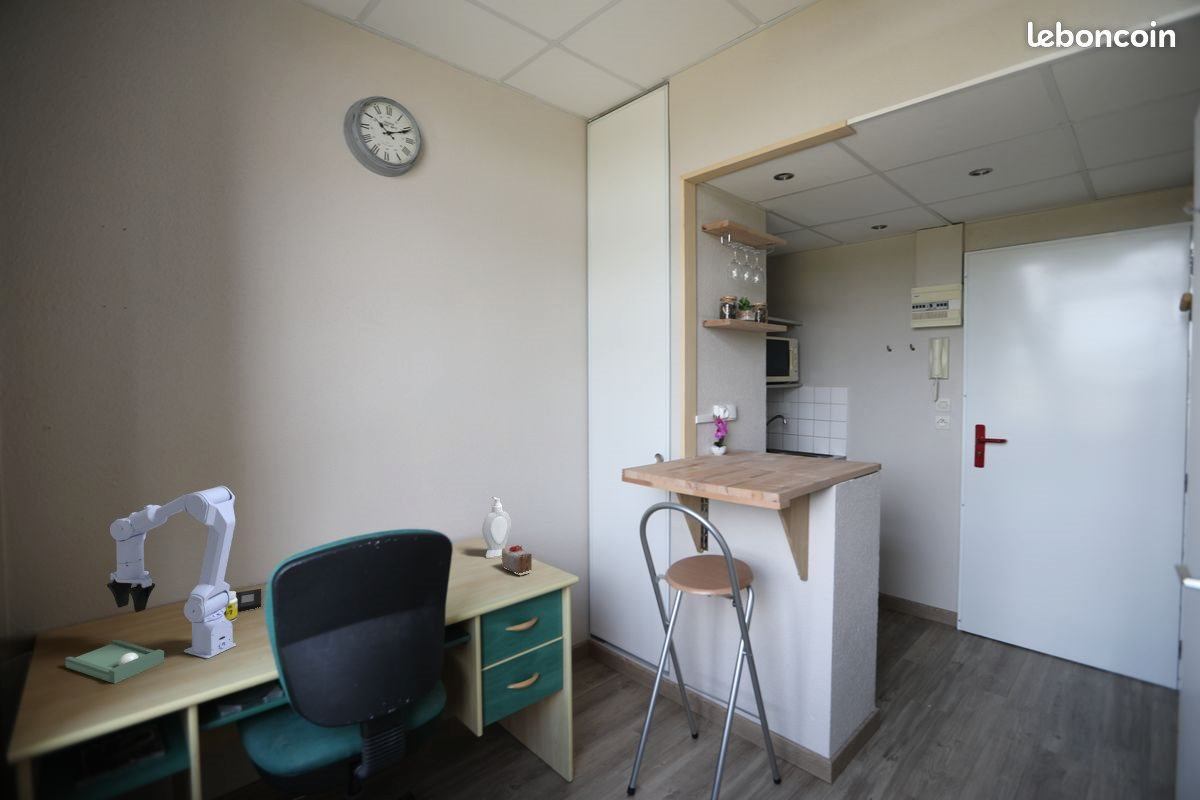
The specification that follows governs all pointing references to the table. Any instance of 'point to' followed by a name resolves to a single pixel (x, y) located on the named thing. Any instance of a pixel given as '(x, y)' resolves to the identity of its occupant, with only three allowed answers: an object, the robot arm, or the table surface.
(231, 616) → the supplement bottle
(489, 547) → the soap bottle
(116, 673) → the green tray
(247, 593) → the vhs tape
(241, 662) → the table surface
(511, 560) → the food item
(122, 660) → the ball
